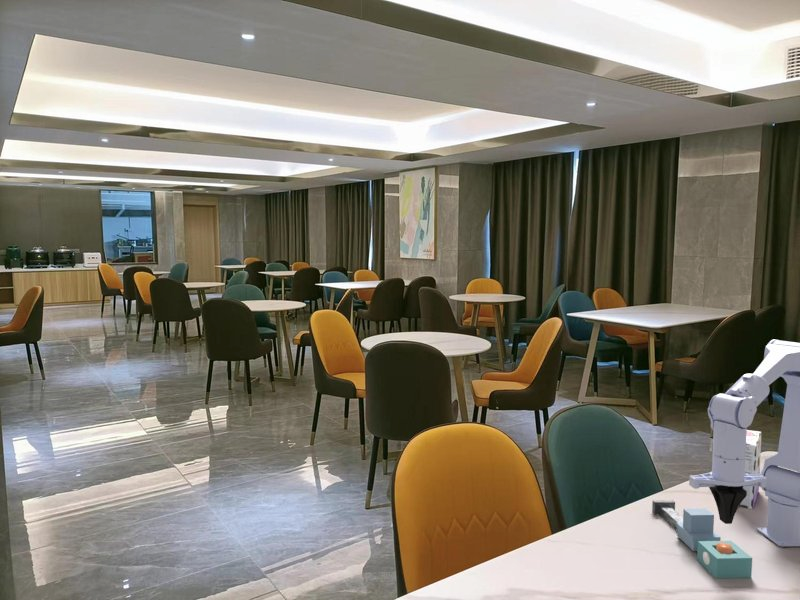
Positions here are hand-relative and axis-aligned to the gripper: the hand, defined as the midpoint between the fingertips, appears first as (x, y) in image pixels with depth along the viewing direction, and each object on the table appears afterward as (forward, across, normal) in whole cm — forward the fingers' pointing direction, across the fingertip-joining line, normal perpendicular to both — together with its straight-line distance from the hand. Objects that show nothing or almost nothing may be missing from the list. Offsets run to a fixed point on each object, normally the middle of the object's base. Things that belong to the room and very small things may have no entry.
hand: (725, 521), depth 120 cm
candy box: (+10, -25, -34) cm, 43 cm away
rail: (+10, 0, -15) cm, 18 cm away
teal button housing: (+10, 0, 0) cm, 10 cm away
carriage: (+10, 0, -10) cm, 14 cm away
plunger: (+9, 0, 0) cm, 9 cm away
